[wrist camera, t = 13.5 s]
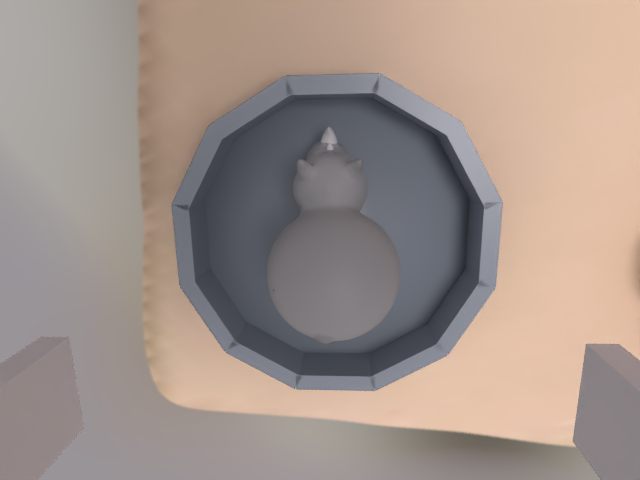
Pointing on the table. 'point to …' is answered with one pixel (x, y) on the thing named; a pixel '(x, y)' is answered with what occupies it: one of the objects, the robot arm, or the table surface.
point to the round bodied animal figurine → (332, 251)
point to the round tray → (380, 206)
